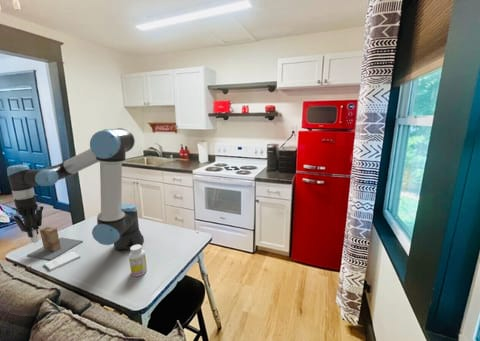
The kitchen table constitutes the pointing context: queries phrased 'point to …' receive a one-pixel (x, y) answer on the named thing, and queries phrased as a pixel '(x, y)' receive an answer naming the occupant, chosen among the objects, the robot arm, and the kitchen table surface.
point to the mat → (65, 246)
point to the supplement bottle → (137, 260)
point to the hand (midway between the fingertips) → (35, 241)
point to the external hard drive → (61, 260)
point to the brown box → (50, 239)
